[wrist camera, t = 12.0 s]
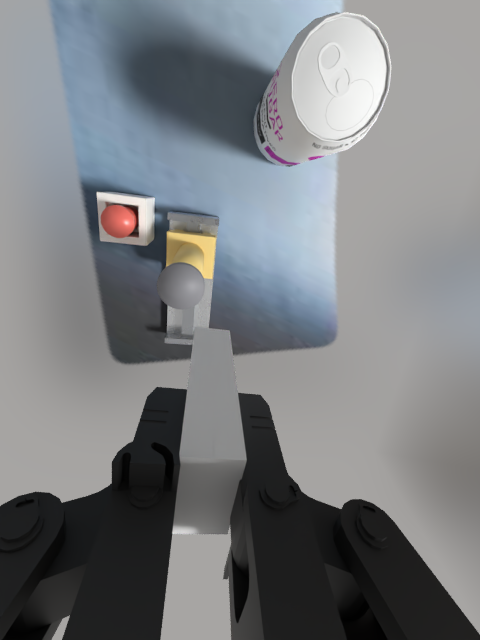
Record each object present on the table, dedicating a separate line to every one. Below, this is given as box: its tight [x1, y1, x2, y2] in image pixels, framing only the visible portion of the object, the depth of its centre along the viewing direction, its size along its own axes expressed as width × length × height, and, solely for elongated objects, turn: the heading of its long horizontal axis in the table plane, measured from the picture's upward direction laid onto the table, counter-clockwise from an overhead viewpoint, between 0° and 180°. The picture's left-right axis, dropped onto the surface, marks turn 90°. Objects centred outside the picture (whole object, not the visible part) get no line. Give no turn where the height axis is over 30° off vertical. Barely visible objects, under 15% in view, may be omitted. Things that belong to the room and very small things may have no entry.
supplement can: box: [253, 12, 392, 167], centre depth 26 cm, size 8×8×15 cm
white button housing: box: [97, 192, 155, 246], centre depth 33 cm, size 5×5×5 cm
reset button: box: [101, 205, 139, 238], centre depth 31 cm, size 3×3×5 cm
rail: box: [165, 211, 219, 345], centre depth 38 cm, size 17×6×3 cm, turn 173°
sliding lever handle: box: [157, 229, 216, 310], centre depth 29 cm, size 5×6×15 cm
